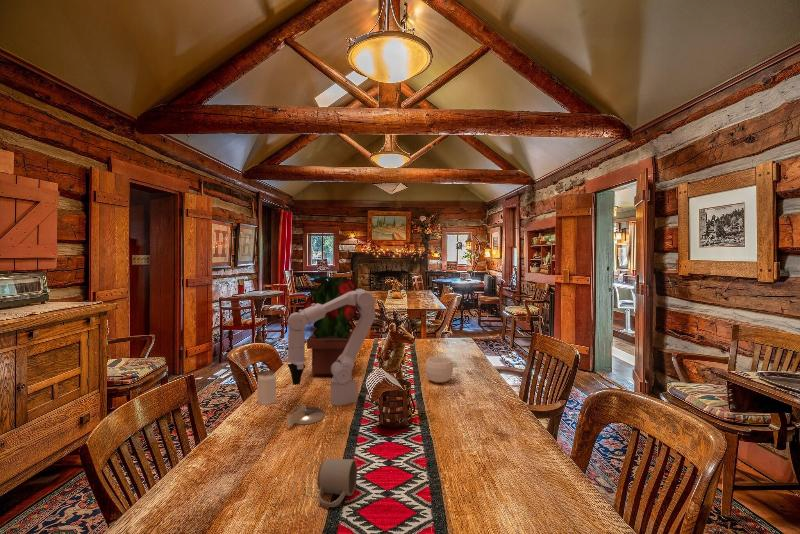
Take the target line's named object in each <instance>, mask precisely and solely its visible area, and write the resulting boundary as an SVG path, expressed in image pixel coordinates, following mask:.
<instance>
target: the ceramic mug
mask: <svg viewBox="0 0 800 534" xmlns="http://www.w3.org/2000/svg"><path fill="white" fill-rule="evenodd" d="M316 476H317V477H316V483H317V484H316V485H317V488H318V499H319V502H320V505H322V506H323V507H324V508H327V507H333V508H336V507H337V506H339V505H340V504H341V503H342V502H343V500H344V498H345V497H351V496H352V495H353V494H354V492H355V489H356V484H357V479H358V464H357V461H356V459H354V458H353V459H352V458H351V459H350V458H347V459H346V458H329V459H328V458H327V459H324V460H322V461H321V463H320V466H319V467H318V472H317V475H316ZM323 493H326V494H331V495H332V494H334V495H338V496H339V497H337V499H336V500H333V501H331V502H327V501H325V500H323V499H322V496H323Z"/></svg>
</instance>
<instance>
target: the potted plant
mask: <svg viewBox="0 0 800 534" xmlns="http://www.w3.org/2000/svg"><path fill="white" fill-rule="evenodd" d="M352 277H353V276H334V277H332V276H321V275H319V276H318V277H313V282H314V283H315V284H319V285H318V286H317V287H316V288H314V289H311V290H310V293H309V294H310V296H312V297H308V298H307V299H306V301H305V302H303V310H304V309H306V308H308V307H310V306H311V304H313V303H315V304H317V303H319V304H321V305H323V304H325V303H327V302H329V301H331V300H333V299H335V298H337V297H340V296H342V295H344V294H346V293H348V292H350V291H355V290H356V289H357V285H356V283H355V282H354V281H353V279H350V278H352ZM356 313H357V314H358V313H359V309H358V307H357V306H354V305H344V306H342V307H339V308H337V309H334V310H332V311H329V312H327V313H326V314H325V317H324V318H322V319H320V320H318V321H315V322H313V327H314V328H316V329H314V331H313V332H312V334H311V335H310V336H309V337H308V338H307V340H306V349H307V350H309V349H310V350H311V374H315V375H316V377H329V376H330V377H331V376H332V378H333V374H332V373H331V366H332V364H333V363H334V362H335V361H336V360H337V359H338V357H339V356H340V355H341V354H342V353H343V351H344V349H345V347H346V345H347V343H348V341H349V339H350V337H351V335H352V333H353V331H351V330H352V328H353V324H352V323H350V322H351V321H352V320H353V321H355V314H356ZM310 325H311V324H309V325H308V326H310Z"/></svg>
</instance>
